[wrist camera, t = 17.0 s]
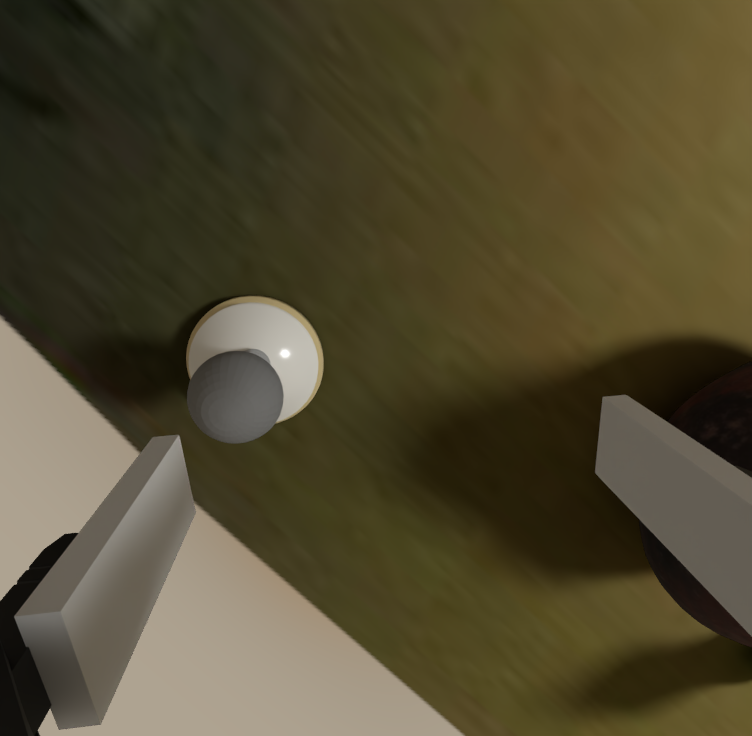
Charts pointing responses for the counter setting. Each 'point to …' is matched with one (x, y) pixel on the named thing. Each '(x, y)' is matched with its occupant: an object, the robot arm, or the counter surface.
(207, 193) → the counter surface
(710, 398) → the jug
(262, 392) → the light bulb
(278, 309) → the white plate
